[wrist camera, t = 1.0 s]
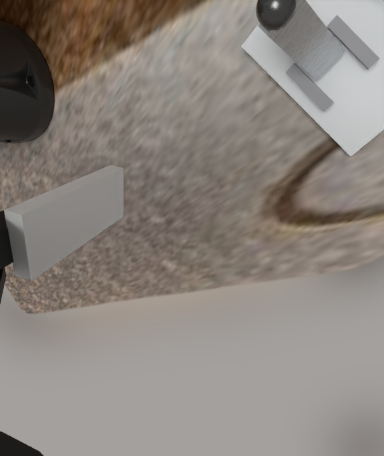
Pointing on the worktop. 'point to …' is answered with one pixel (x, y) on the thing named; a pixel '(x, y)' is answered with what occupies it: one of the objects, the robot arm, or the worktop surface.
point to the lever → (299, 34)
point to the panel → (336, 72)
